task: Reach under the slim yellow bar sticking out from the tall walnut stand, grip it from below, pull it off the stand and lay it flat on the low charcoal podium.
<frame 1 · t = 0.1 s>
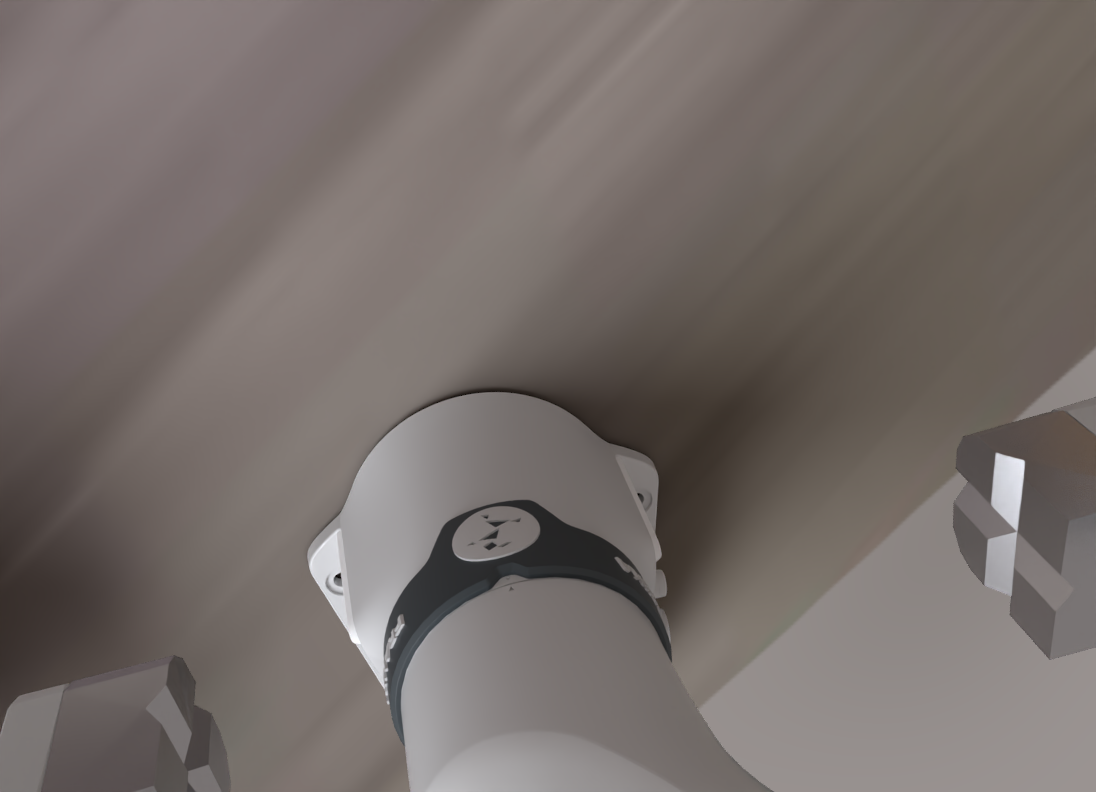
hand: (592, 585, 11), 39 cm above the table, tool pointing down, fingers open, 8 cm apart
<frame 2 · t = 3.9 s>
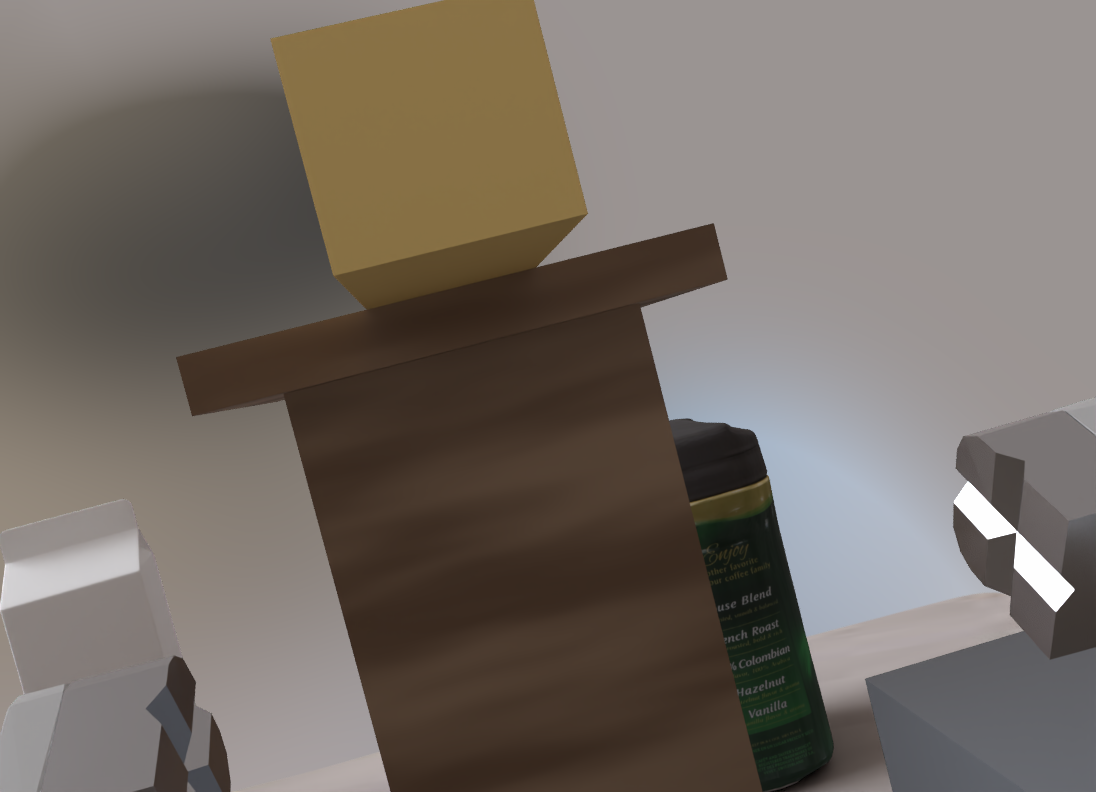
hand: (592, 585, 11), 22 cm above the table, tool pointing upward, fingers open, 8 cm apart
yellow bar: (450, 294, 29), point 26 cm above the table, touching walnut stand
coffee jar: (755, 763, 56), on the table
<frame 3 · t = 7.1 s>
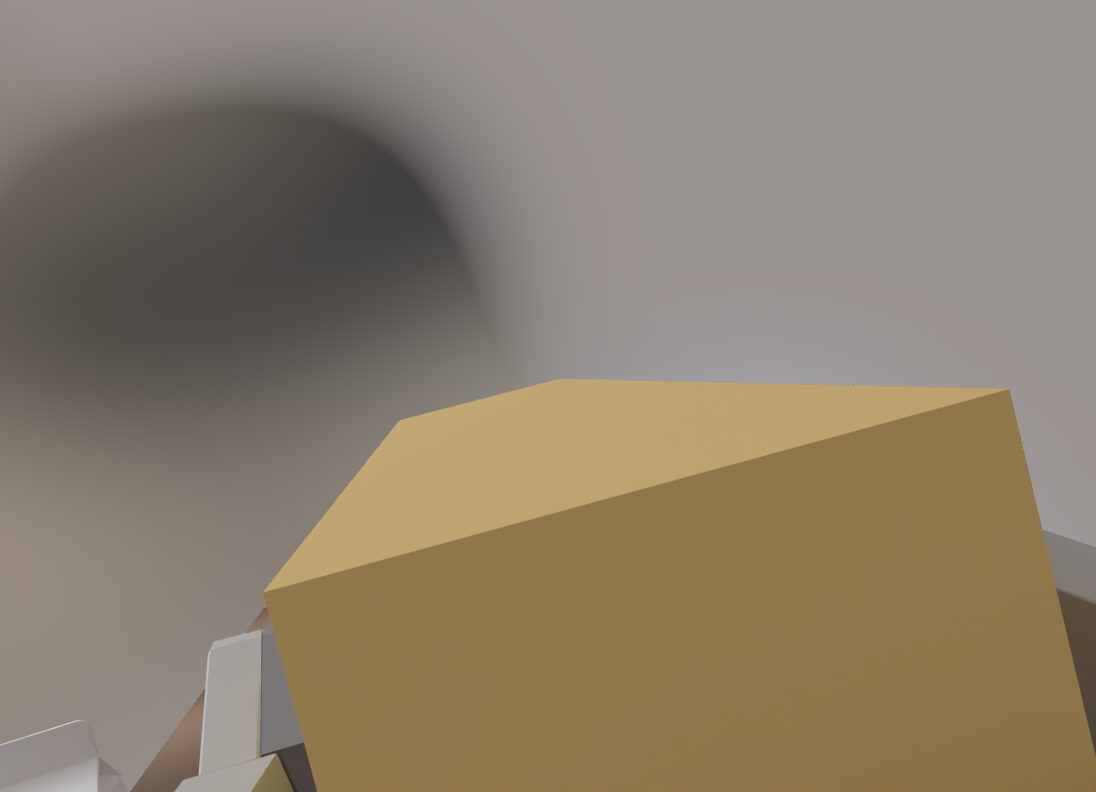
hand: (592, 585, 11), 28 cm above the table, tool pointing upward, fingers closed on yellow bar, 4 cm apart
yellow bar: (571, 652, 17), point 26 cm above the table, touching gripper, walnut stand
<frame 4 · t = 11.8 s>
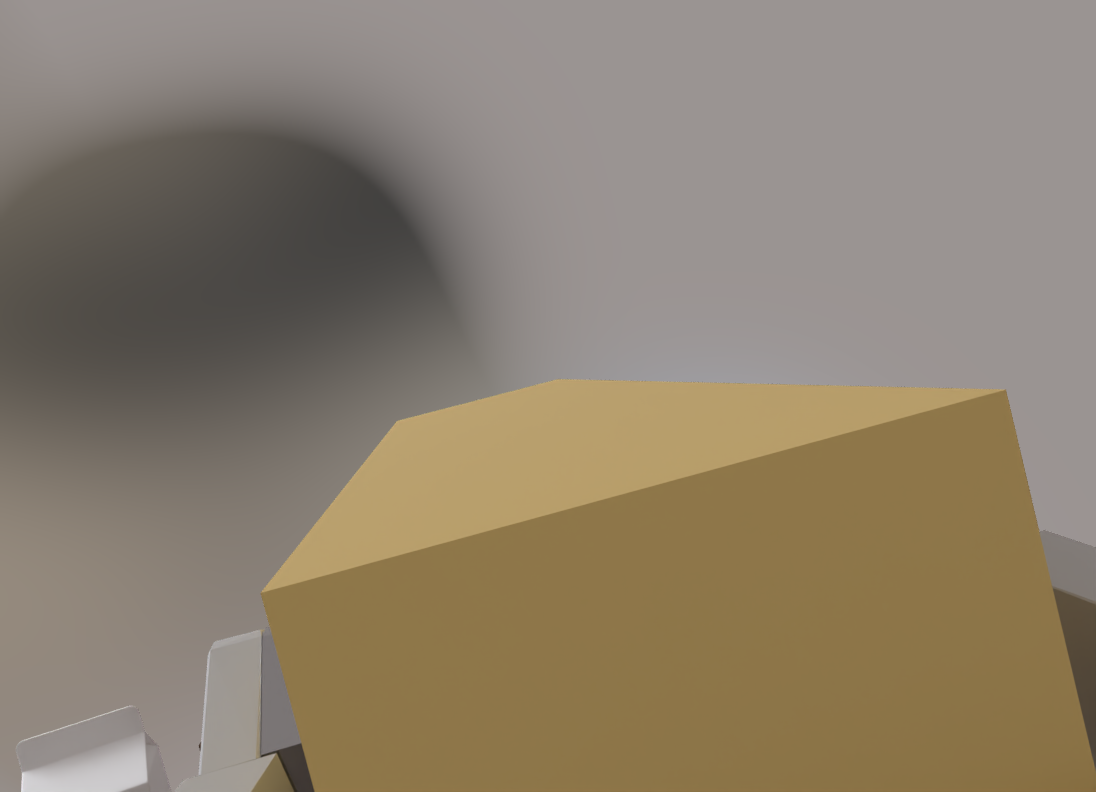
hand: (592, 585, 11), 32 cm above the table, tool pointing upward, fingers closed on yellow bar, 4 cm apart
yellow bar: (569, 653, 17), point 30 cm above the table, touching gripper
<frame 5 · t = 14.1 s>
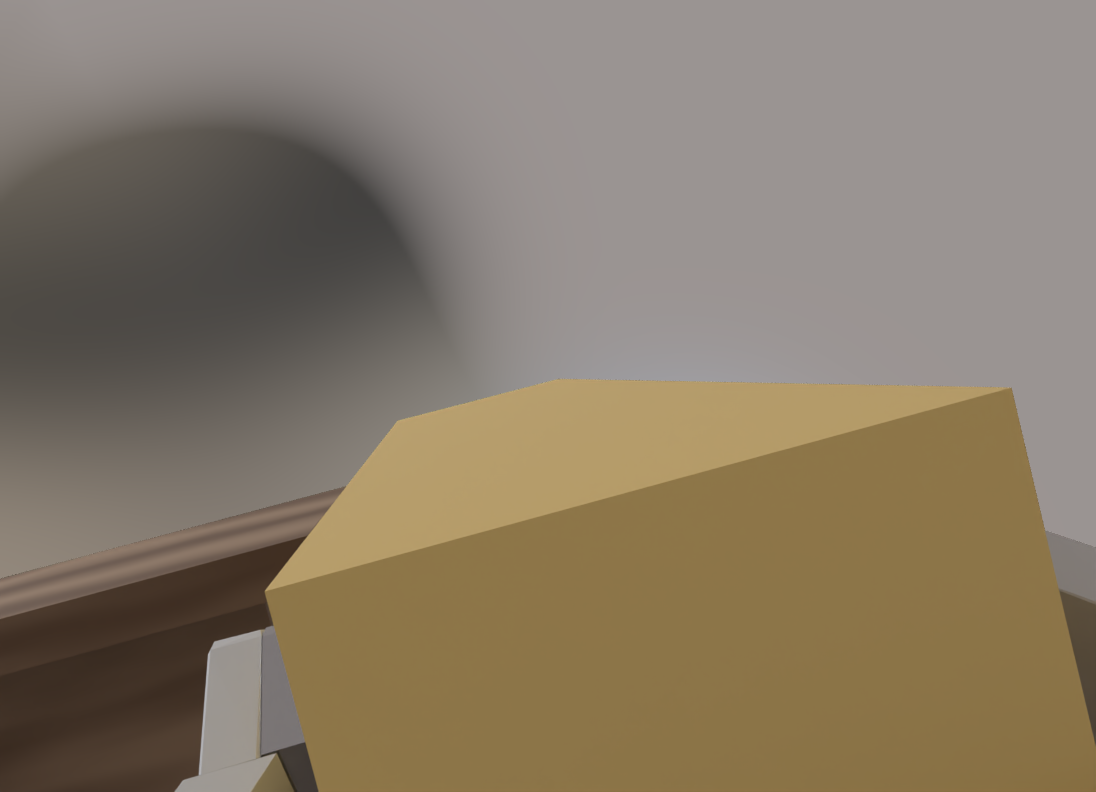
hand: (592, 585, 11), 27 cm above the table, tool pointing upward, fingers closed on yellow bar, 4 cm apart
yellow bar: (570, 653, 17), point 24 cm above the table, touching gripper
when the fingers open (18 cm above the table, at t = 16.4 s): yellow bar drops 1 cm, resting on podium.
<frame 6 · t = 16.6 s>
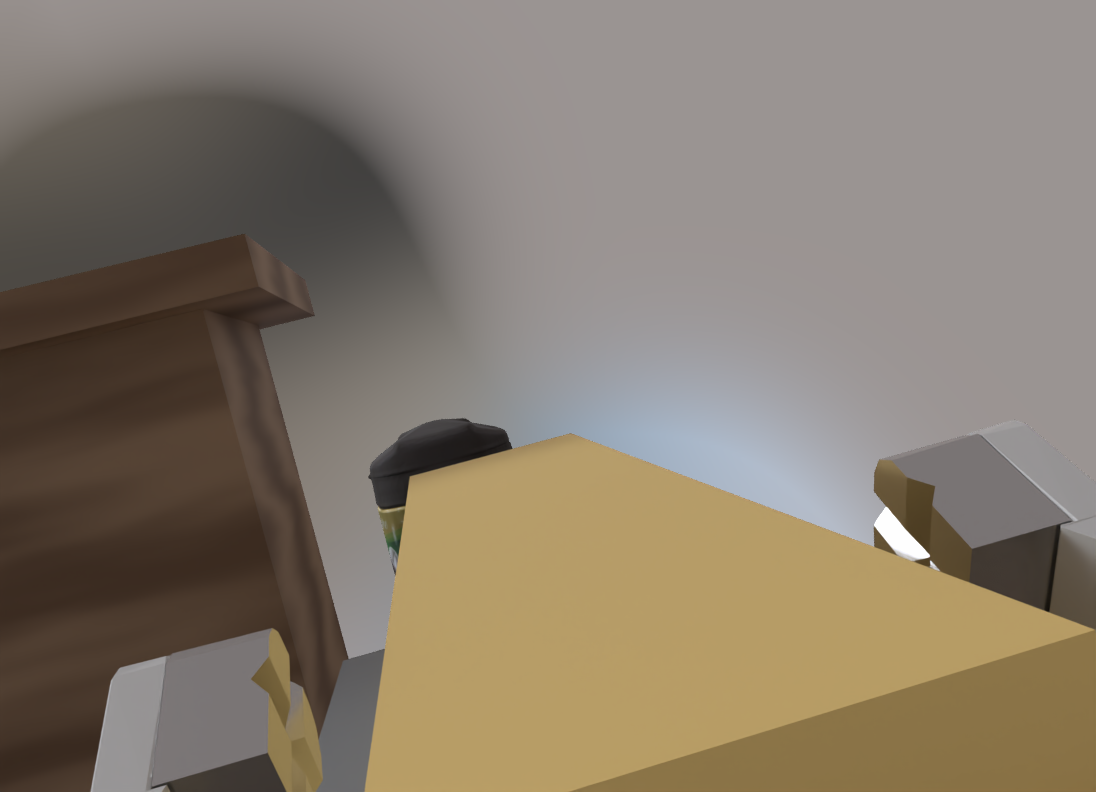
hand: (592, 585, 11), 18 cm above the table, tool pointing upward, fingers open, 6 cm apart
yellow bar: (596, 742, 17), point 14 cm above the table, touching podium
coffee jar: (517, 752, 57), on the table
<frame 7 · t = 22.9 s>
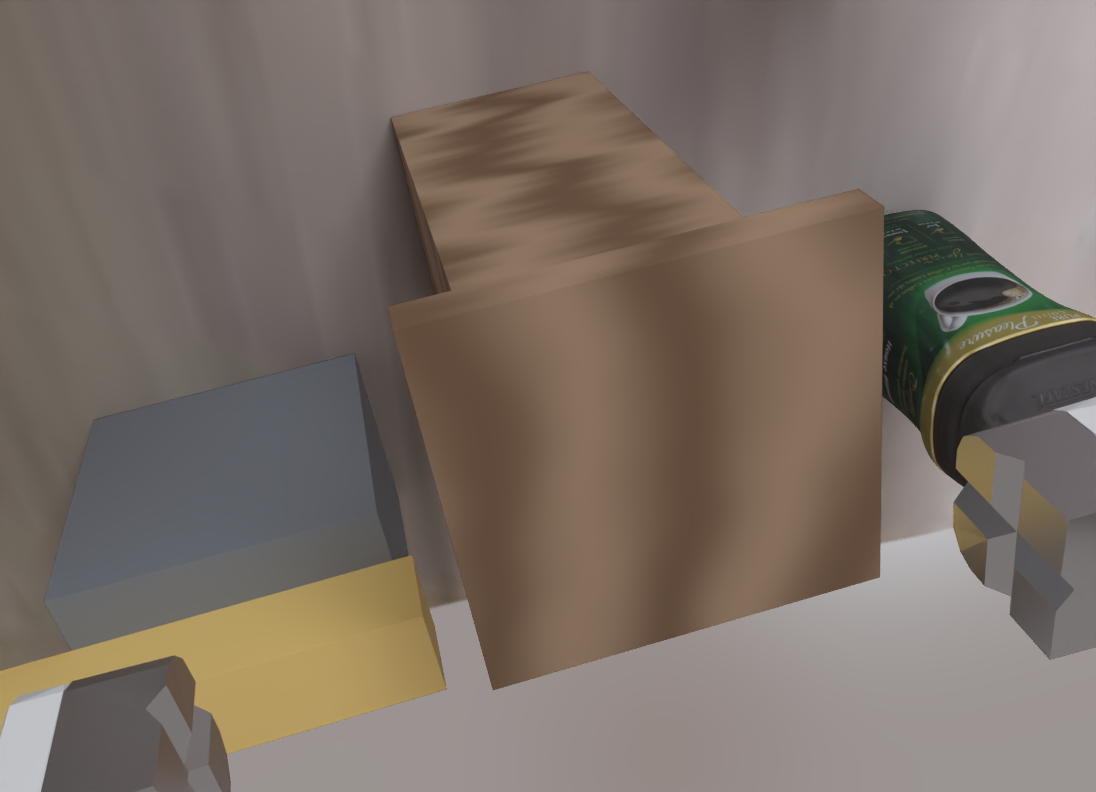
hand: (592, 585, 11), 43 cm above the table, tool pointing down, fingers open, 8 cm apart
yellow bar: (180, 660, 46), point 14 cm above the table, touching podium
walnut stand: (509, 189, 54), on the table
coffee jar: (868, 272, 62), on the table
podium: (254, 460, 59), on the table
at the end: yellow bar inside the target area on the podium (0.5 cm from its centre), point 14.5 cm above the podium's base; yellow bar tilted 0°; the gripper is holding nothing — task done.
